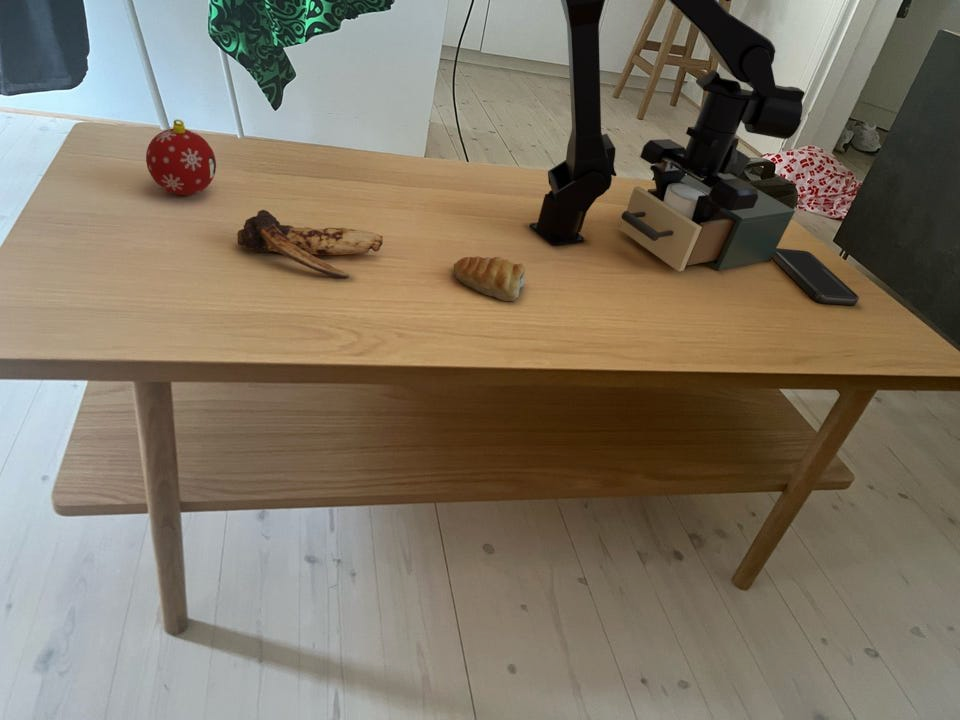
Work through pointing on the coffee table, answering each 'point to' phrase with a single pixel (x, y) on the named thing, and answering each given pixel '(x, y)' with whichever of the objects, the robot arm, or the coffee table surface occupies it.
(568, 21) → the robot arm
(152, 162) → the christmas ornament
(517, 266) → the pastry
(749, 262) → the cabinet
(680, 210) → the white cylinder
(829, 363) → the coffee table surface
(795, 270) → the phone
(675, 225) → the drawer
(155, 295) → the coffee table surface
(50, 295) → the coffee table surface
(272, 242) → the bone fish hook
